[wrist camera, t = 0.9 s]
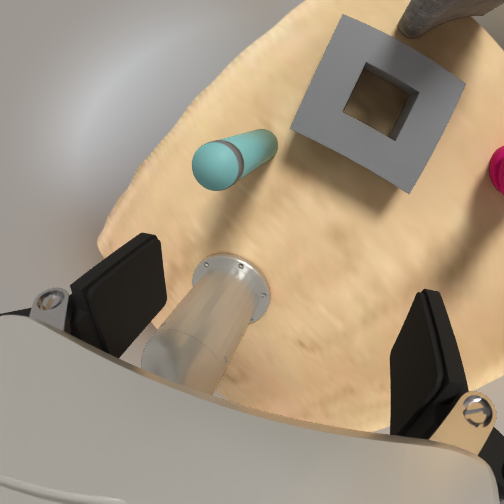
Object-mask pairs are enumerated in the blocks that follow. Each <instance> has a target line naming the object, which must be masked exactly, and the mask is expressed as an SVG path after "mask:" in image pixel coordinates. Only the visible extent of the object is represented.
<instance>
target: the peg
mask: <svg viewBox="0 0 504 504" xmlns="http://www.w3.org/2000/svg"><path fill="white" fill-rule="evenodd" d="M277 150H278V141H277V139H276V137H275V135H274V134H273V133H272V132H270V131H268V130H265V129H259V130H254V131H250V132H247V133H243V134H239V135H235V136H232V137H228V138H224V139H221V140H216V141H212V142H208V143H206V144H204V145H202V146H201V147H200V148H199V149H198V150H197V151H196V152H195V154H194V157H193V160H192V170H193V174H194V176H195V178H196V180H197V181H198V182H199V183H200V184H201V185H202V186H203V187H205V188H206V189H209V190H212V191H221V190H225V189H227V188H229V187H230V186H232V185H233V184H235V183H236V182H237V181H238V180H240V179H241V178H243V177H244V176H245V175H247V174H248V173H250V172H251V171H253V170H254V169H256V168H257V167H259V166H260V165H262V164H263V163H265V162H266V161H268V160H270V159H271V158H272V157H274V156H275V154H276V153H277Z"/></svg>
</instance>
